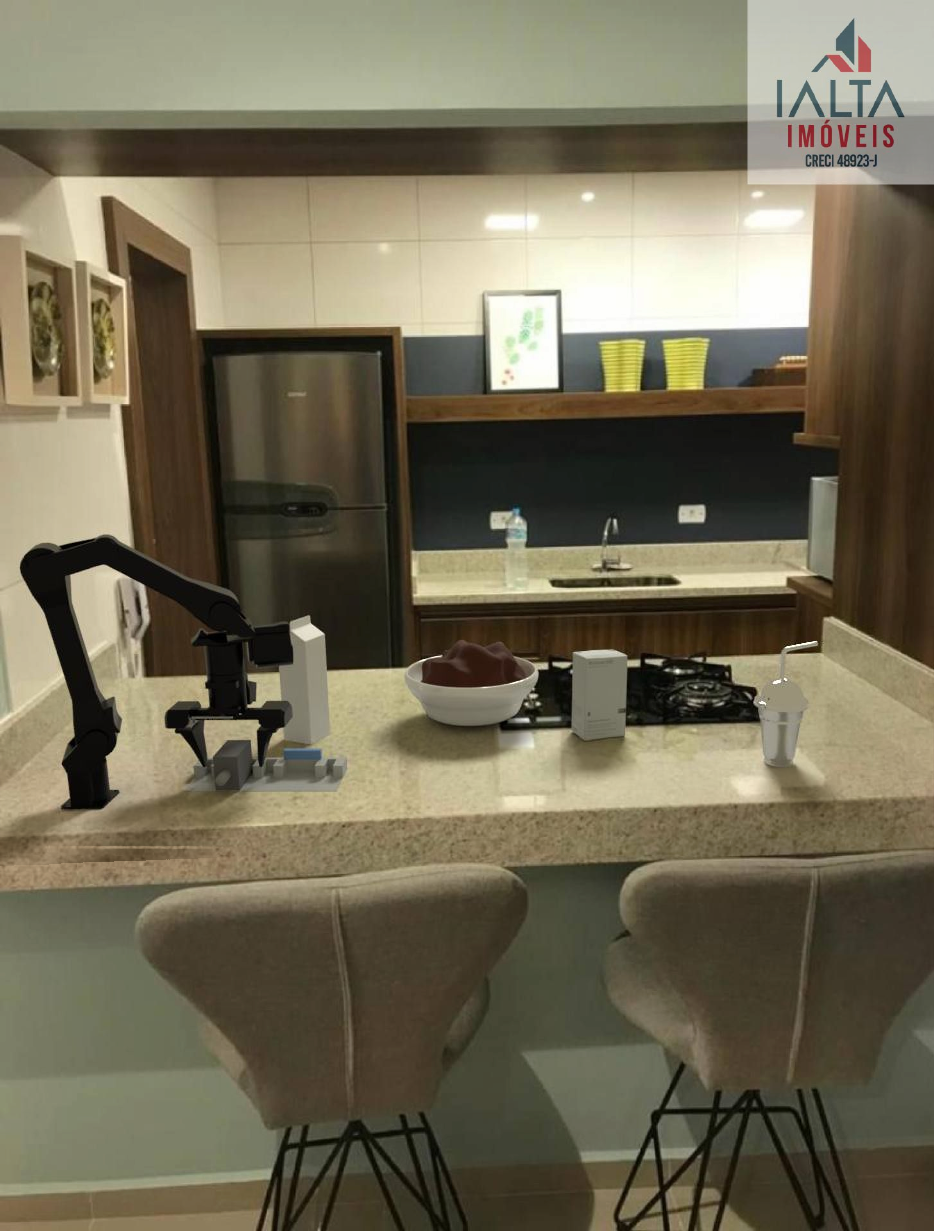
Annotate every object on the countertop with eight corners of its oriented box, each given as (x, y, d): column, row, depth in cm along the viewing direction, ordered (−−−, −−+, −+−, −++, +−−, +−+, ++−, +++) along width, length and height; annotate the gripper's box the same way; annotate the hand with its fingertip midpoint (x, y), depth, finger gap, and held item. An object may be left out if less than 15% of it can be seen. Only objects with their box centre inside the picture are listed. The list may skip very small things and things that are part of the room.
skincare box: (584, 742, 164) (584, 659, 161) (570, 731, 170) (570, 651, 166) (627, 736, 166) (629, 654, 163) (612, 725, 172) (613, 646, 169)
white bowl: (378, 719, 179) (375, 642, 175) (473, 690, 195) (472, 619, 192) (470, 751, 161) (468, 665, 158) (566, 716, 178) (566, 638, 174)
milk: (283, 741, 168) (274, 620, 163) (303, 731, 173) (295, 613, 168) (312, 746, 165) (303, 623, 160) (331, 735, 170) (323, 616, 166)
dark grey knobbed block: (234, 798, 143) (231, 763, 141) (209, 798, 143) (206, 763, 142) (253, 772, 153) (250, 739, 152) (230, 772, 153) (227, 740, 152)
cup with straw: (756, 749, 158) (761, 633, 154) (813, 757, 154) (820, 638, 150) (746, 766, 151) (751, 645, 147) (805, 775, 147) (812, 651, 143)
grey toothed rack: (336, 792, 145) (335, 769, 144) (183, 792, 146) (180, 769, 145) (347, 770, 153) (346, 748, 153) (202, 770, 155) (200, 748, 154)
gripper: (297, 656, 153) (303, 748, 156) (184, 657, 154) (192, 748, 157) (280, 676, 142) (287, 773, 145) (158, 676, 143) (168, 773, 146)
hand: (233, 766), depth 149 cm, fingers open, 9 cm apart
